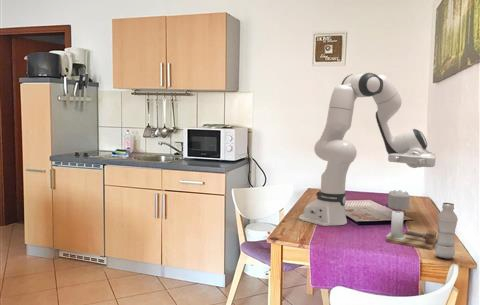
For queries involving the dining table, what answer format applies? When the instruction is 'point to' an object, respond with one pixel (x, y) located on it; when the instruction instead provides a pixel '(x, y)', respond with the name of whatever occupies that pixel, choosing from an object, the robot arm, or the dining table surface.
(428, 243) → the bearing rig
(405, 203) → the lumpy-topped squat cylinder
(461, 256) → the dining table surface
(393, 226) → the spacer sleeve
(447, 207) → the plastic bottle
